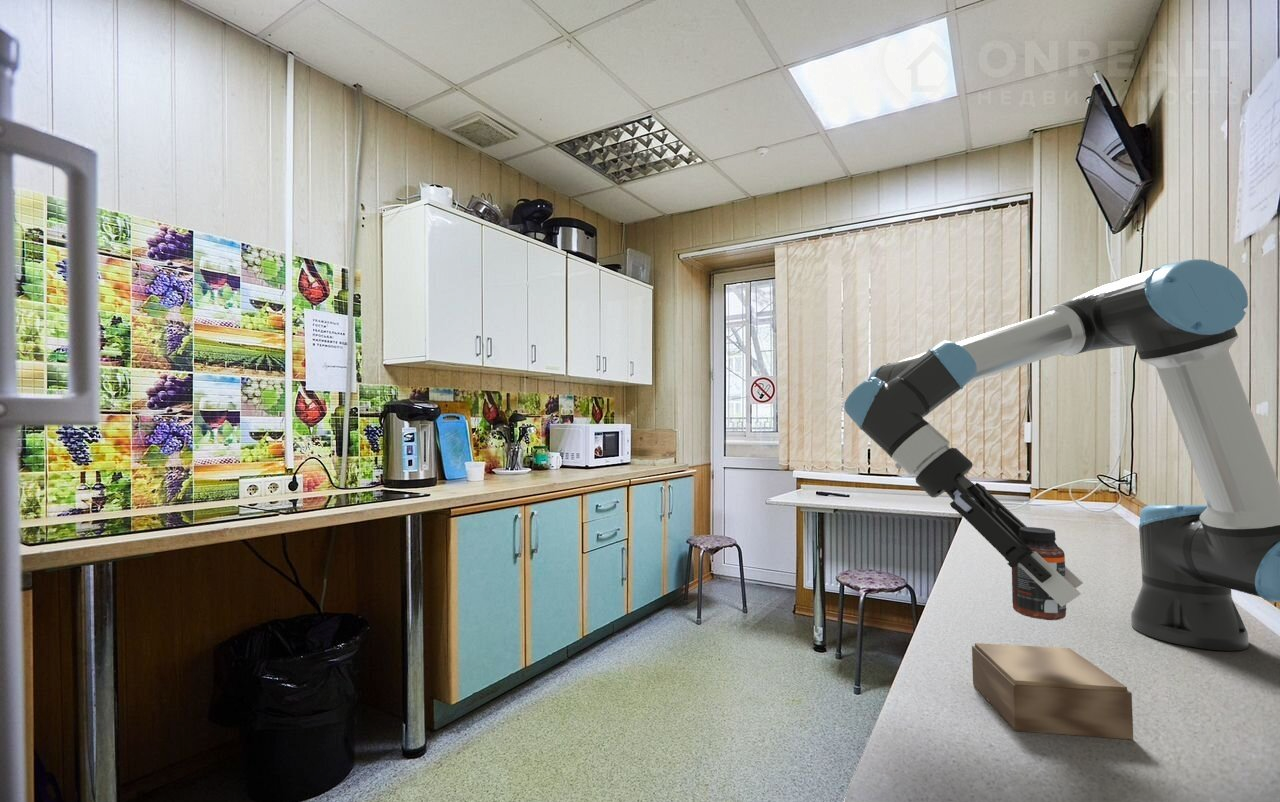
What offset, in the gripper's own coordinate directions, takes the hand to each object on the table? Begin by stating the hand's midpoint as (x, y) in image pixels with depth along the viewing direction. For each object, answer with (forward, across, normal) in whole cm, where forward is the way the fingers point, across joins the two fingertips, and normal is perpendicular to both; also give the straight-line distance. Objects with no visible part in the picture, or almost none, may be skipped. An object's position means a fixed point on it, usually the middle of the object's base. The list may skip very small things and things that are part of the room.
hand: (1072, 593), depth 75 cm
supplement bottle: (0, 0, -5) cm, 5 cm away
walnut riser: (+9, 0, -14) cm, 16 cm away
